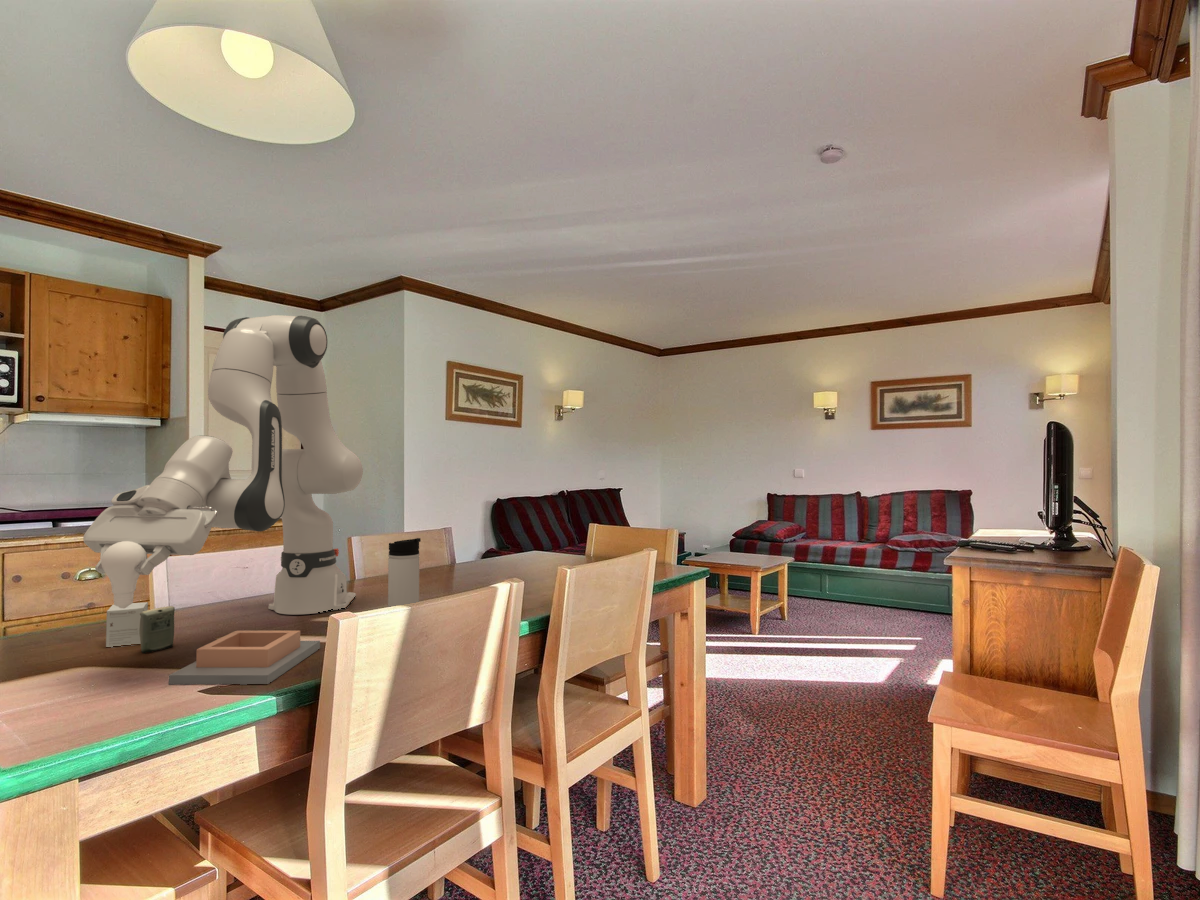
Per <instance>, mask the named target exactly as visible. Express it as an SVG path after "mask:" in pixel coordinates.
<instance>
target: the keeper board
mask: <svg viewBox="0 0 1200 900" xmlns="http://www.w3.org/2000/svg"><path fill="white" fill-rule="evenodd" d="M318 649H319V650H320V649H321V640H301V630H235V631H232V632H230V633H228V634H226V635H224V636H222V637H219V638H218V639H216V640H213V641H211V642H209V643H207V644H205V645H203V646H201V647H198V648H197V649H196V653H195V654H196V659H195V660H196V661H194V662H192V663H190V664H188V665H186V666H184V667H182V668H181V669H178V670H176V671H174V672H172V673H170V674H168V685H191V684H205V686H206V684H210V685H211V684H215V685H216V684H224V686H225V684H228V685H229V684H240V685H242V686H243V685H244V686H245V685H247V684H268V685H269V684H270V682H271V683H272V682H273V681H275V680H276V679H278V678H279V677H281V676H282V675H284V674H285V673H287V672H288V671H290V670H291V669H293V668H294V667H295V666H297V665H299V664H300V663H301V662H302V661H304V660H305V659H307V658H308V657H310V656H311V655H313V654H314V653H316V652H317V651H318ZM229 686H230V685H229Z"/></svg>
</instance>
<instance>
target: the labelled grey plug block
mask: <svg viewBox="0 0 1200 900" xmlns="http://www.w3.org/2000/svg"><path fill="white" fill-rule="evenodd" d="M175 611H176V608H175V606H172V605H168V606H163V607H162V606H161V607H157V608H152V609H148V610H147V611H143V612H141V613H140V616H141V618H140V628H139V634H140V643H141V645H140V650H141V651H140V653H141V652H142V653H141V654H147V653H146V652H150V653H153V652H152V651H154V652H157V650H158V651H162V650H165V649H170V648H173V646H174V640H175V639H174V637H175ZM161 649H162V650H161Z"/></svg>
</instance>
